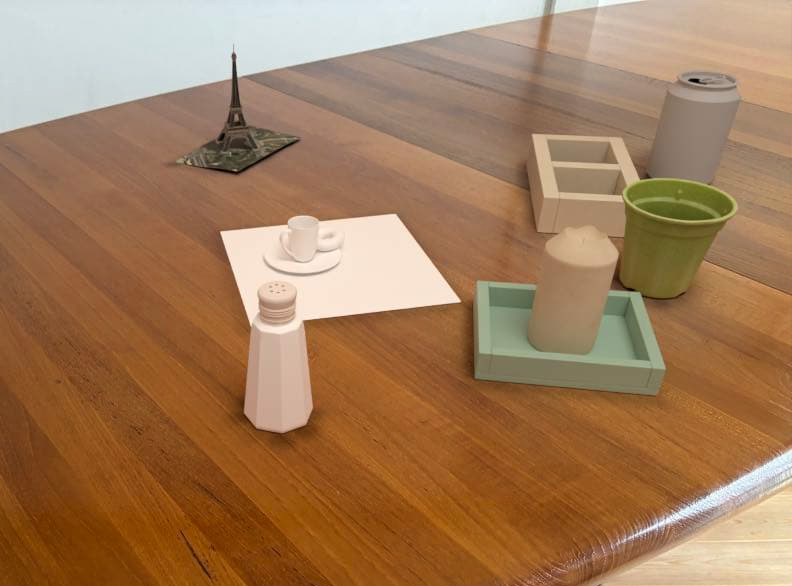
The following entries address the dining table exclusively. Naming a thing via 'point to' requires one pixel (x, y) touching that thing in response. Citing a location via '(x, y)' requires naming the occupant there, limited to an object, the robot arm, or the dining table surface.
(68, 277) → the dining table surface
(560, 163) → the holder
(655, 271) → the plant pot
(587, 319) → the candle
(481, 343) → the tray
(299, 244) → the teacup and saucer
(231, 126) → the eiffel tower figurine
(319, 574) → the dining table surface
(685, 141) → the can
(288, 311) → the pepper shaker
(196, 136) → the dining table surface
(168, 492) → the dining table surface
